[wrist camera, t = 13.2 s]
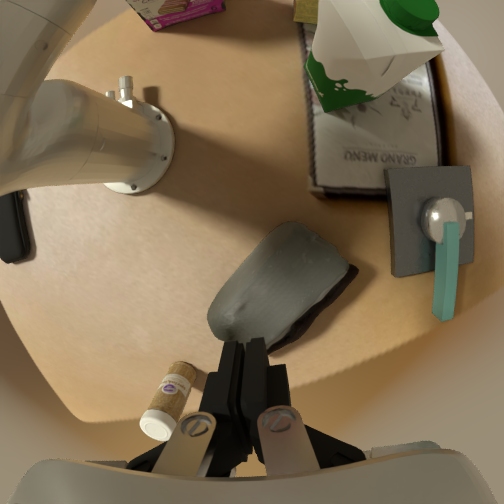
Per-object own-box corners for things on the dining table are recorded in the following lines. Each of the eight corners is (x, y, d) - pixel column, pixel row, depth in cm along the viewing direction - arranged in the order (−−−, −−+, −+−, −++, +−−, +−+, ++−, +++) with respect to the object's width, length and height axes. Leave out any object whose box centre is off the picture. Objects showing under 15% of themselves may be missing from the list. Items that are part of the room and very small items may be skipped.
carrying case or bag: (39, 253, 40) (24, 172, 37) (28, 258, 37) (13, 172, 34) (9, 262, 41) (-5, 190, 38) (-1, 266, 38) (-15, 191, 35)
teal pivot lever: (454, 195, 31) (469, 197, 28) (450, 305, 35) (463, 315, 31) (419, 198, 32) (433, 200, 28) (418, 313, 35) (429, 324, 32)
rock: (263, 356, 40) (261, 390, 33) (201, 310, 39) (186, 338, 32) (354, 263, 37) (373, 282, 29) (289, 206, 36) (294, 212, 28)
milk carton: (381, 105, 31) (467, 48, 12) (319, 121, 33) (369, 56, 13) (354, 48, 30) (409, -38, 10) (292, 63, 31) (308, -36, 12)
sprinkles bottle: (192, 359, 41) (165, 419, 28) (200, 382, 42) (178, 443, 29) (165, 360, 42) (133, 417, 29) (174, 383, 43) (146, 440, 30)
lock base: (383, 169, 33) (388, 168, 32) (464, 166, 32) (470, 165, 30) (391, 274, 36) (395, 277, 35) (467, 259, 35) (473, 262, 33)
